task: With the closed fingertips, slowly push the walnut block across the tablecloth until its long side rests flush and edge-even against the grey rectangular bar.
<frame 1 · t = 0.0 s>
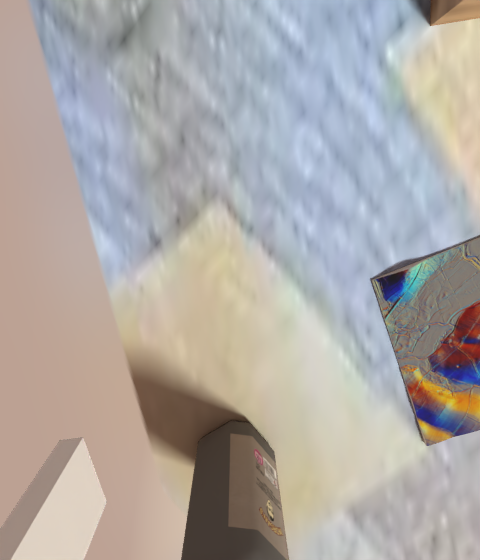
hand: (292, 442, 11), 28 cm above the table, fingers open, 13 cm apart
liquor: (234, 448, 46), on the table
relief map: (455, 342, 42), on the table
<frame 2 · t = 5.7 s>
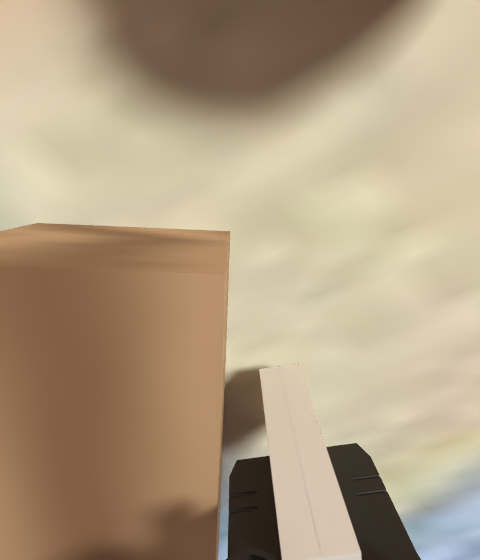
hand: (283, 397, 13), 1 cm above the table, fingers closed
block: (143, 388, 14), on the table
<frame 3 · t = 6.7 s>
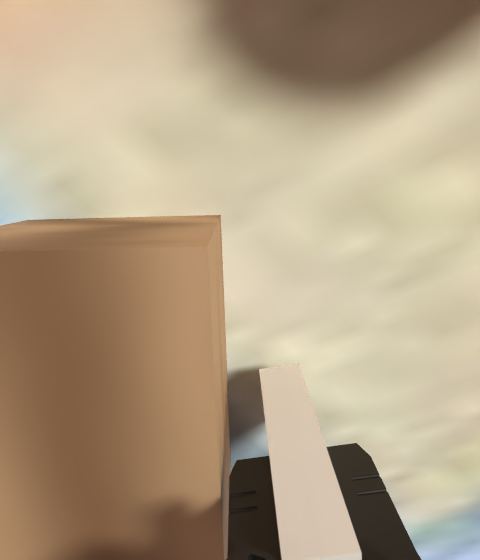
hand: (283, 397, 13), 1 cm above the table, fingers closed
block: (147, 379, 14), on the table
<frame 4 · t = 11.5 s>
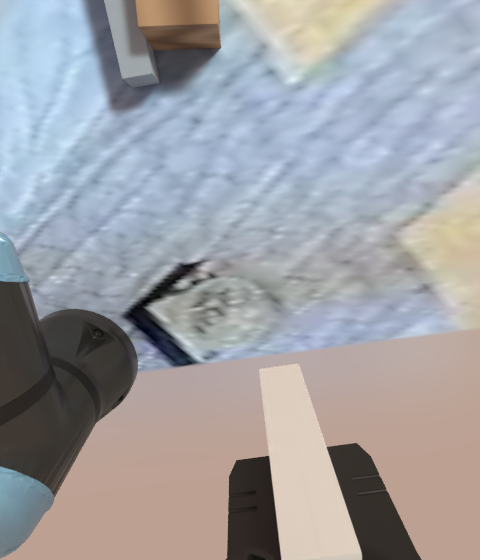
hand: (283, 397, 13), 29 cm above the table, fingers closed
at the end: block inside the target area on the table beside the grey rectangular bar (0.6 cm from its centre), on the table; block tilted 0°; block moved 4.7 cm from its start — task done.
